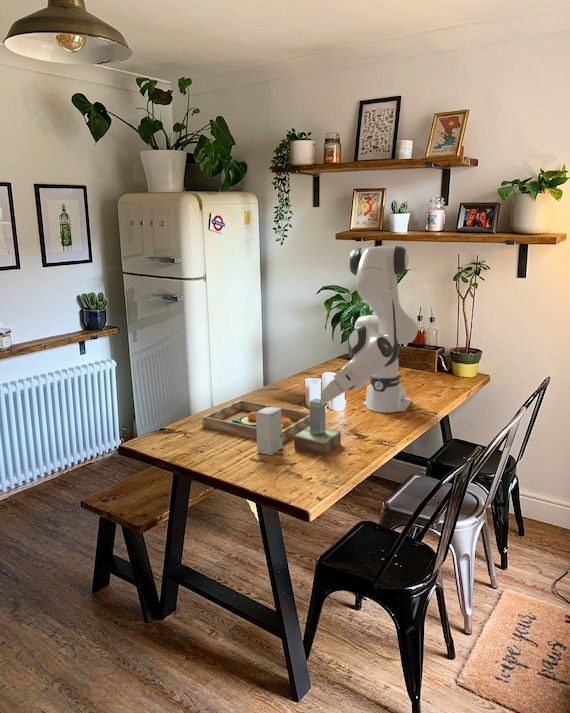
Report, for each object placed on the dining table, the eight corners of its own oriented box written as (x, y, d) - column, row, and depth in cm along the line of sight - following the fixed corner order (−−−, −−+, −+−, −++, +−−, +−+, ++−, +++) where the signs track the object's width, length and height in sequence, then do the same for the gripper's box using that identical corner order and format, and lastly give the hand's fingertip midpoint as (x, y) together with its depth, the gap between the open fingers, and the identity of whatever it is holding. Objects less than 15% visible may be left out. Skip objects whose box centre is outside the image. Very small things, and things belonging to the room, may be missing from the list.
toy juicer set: (302, 427, 237) (301, 408, 235) (277, 442, 222) (277, 422, 220) (241, 415, 251) (240, 397, 249) (214, 429, 236) (213, 410, 234)
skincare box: (271, 455, 209) (269, 414, 206) (256, 452, 212) (254, 412, 209) (283, 447, 216) (282, 407, 213) (268, 444, 219) (267, 405, 216)
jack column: (315, 430, 218) (315, 398, 215) (325, 432, 216) (325, 400, 213) (309, 434, 215) (309, 401, 212) (320, 436, 212) (319, 403, 209)
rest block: (311, 438, 224) (311, 425, 223) (340, 444, 218) (340, 431, 217) (294, 449, 215) (294, 435, 213) (324, 455, 208) (324, 442, 207)
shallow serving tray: (240, 408, 259) (240, 399, 258) (314, 423, 240) (314, 413, 239) (202, 426, 238) (202, 417, 237) (279, 443, 219) (279, 433, 219)
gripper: (361, 360, 211) (336, 384, 219) (333, 375, 195) (307, 399, 202) (373, 375, 210) (347, 397, 218) (345, 390, 193) (319, 414, 201)
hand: (328, 398), depth 210 cm, fingers open, 8 cm apart
